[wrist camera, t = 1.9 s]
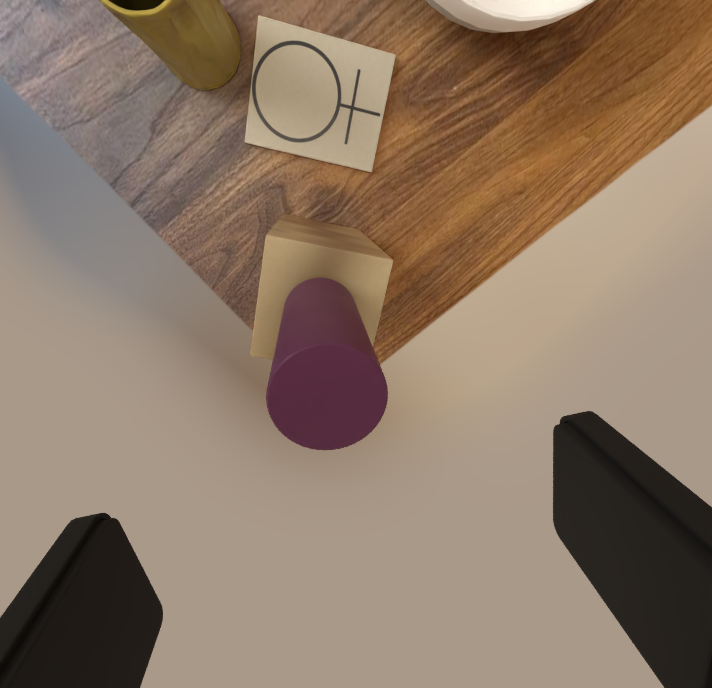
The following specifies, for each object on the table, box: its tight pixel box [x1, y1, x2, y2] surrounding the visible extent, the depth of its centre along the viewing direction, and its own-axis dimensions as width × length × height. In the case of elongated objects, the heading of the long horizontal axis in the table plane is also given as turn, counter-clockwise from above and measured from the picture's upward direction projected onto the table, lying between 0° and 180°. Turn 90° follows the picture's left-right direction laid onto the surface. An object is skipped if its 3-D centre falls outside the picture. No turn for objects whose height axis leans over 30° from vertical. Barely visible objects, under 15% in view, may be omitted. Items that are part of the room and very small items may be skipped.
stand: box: [250, 214, 393, 359], centre depth 31 cm, size 7×7×17 cm
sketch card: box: [245, 15, 396, 172], centre depth 34 cm, size 11×9×1 cm
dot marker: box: [266, 278, 388, 450], centre depth 18 cm, size 4×4×11 cm
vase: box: [99, 0, 241, 90], centre depth 26 cm, size 6×6×14 cm
